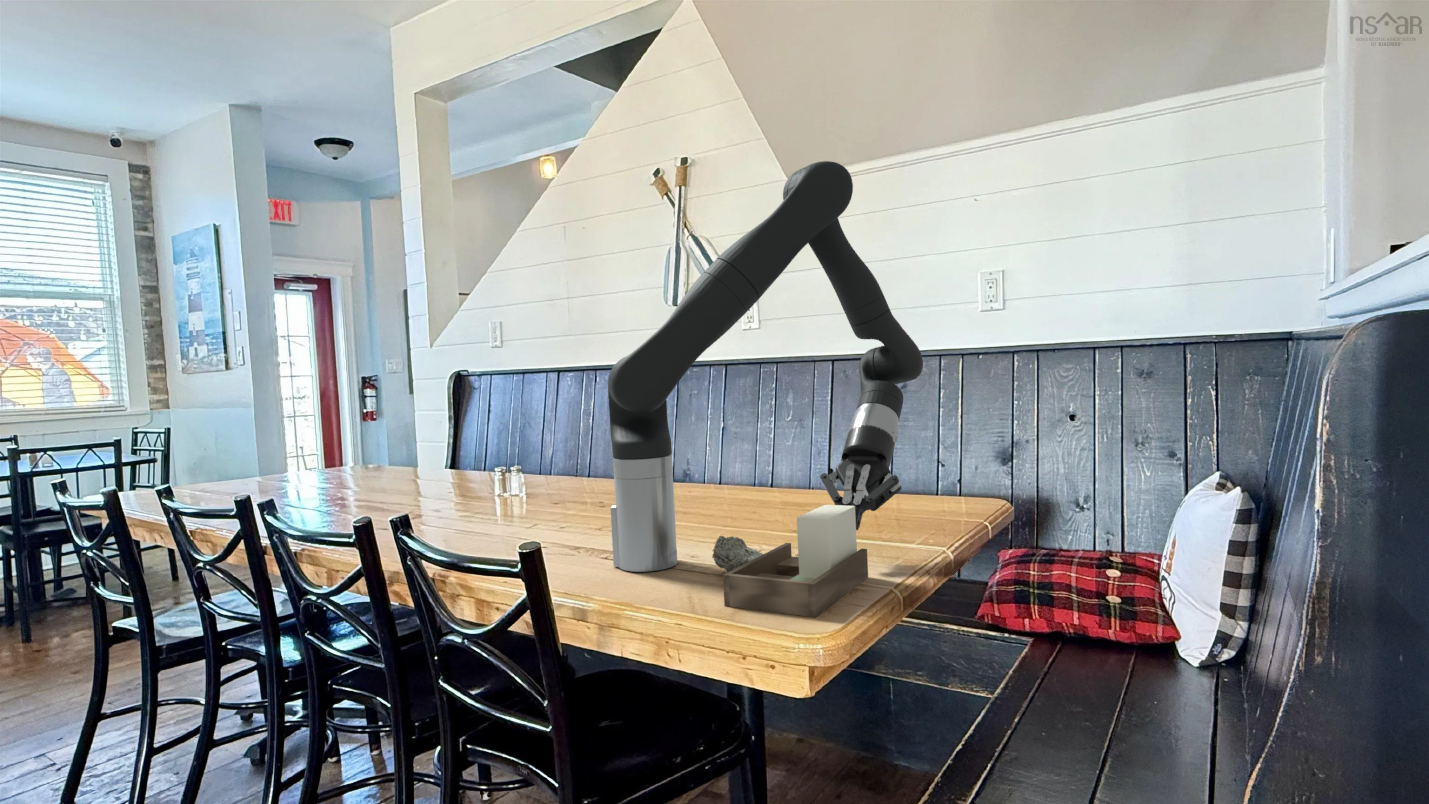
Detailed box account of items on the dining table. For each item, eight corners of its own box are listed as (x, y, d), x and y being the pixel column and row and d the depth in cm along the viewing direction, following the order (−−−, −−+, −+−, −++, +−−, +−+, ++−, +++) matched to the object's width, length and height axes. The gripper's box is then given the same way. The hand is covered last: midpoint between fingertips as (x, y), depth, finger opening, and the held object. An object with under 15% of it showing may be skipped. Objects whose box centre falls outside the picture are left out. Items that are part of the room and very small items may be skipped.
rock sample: (771, 556, 107) (737, 511, 112) (730, 592, 108) (698, 545, 113) (796, 570, 116) (764, 528, 121) (758, 603, 117) (728, 559, 122)
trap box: (724, 605, 98) (722, 574, 98) (787, 569, 115) (786, 542, 114) (815, 617, 92) (814, 584, 92) (868, 577, 108) (867, 548, 108)
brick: (799, 577, 103) (796, 517, 102) (827, 559, 111) (825, 504, 111) (831, 580, 100) (828, 519, 100) (857, 562, 109) (855, 505, 109)
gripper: (825, 423, 123) (797, 513, 113) (907, 423, 117) (885, 518, 107) (838, 452, 128) (813, 541, 118) (917, 453, 121) (898, 547, 111)
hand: (847, 530), depth 112 cm, fingers closed
